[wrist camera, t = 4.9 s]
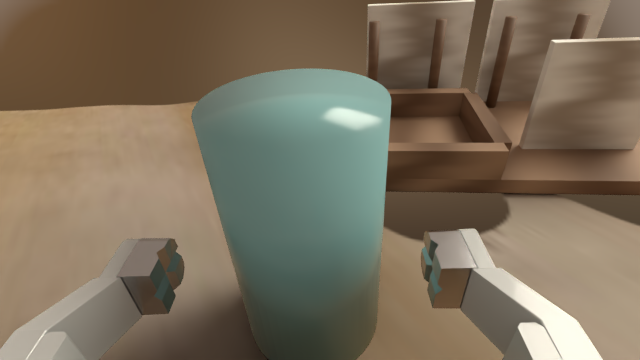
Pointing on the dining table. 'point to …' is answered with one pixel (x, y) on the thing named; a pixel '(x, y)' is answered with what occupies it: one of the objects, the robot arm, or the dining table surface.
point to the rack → (508, 99)
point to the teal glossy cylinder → (301, 204)
